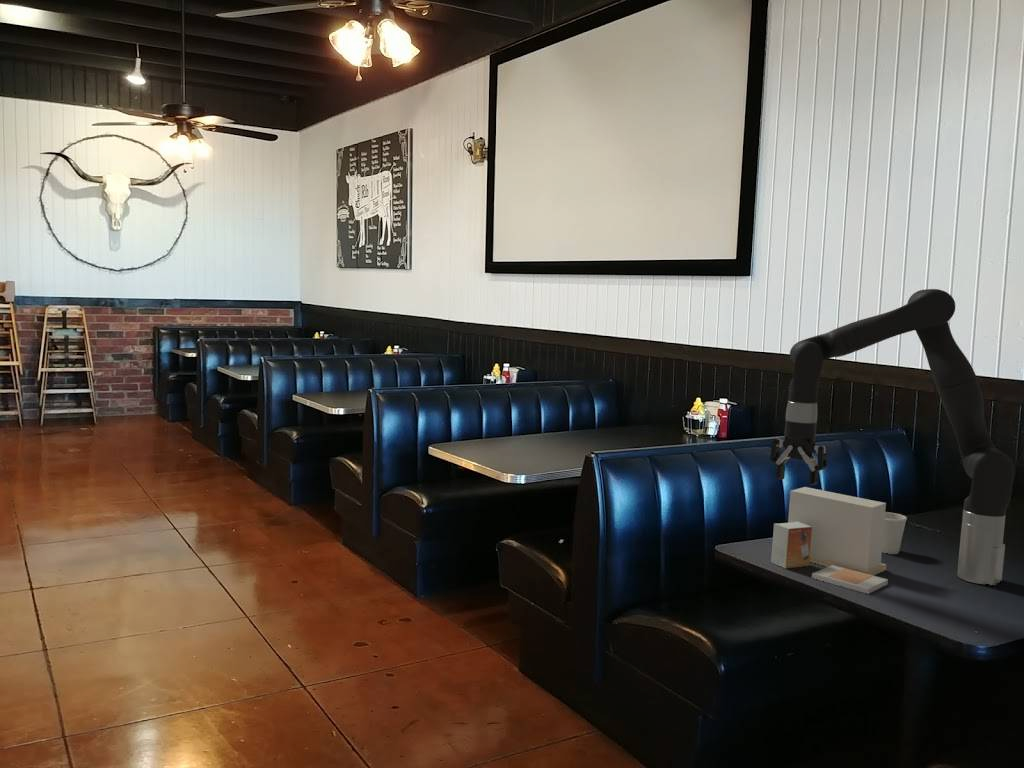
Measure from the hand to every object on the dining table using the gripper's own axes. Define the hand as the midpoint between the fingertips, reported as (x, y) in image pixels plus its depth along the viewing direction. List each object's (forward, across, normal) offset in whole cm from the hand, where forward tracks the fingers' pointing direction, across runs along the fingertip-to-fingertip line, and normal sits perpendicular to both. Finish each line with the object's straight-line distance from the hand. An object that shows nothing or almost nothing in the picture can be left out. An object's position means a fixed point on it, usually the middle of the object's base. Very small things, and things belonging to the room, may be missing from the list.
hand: (796, 482), depth 219 cm
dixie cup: (+22, -11, -34) cm, 42 cm away
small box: (+22, 0, 0) cm, 22 cm away
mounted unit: (+22, -6, -11) cm, 25 cm away
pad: (+22, -16, 0) cm, 27 cm away
